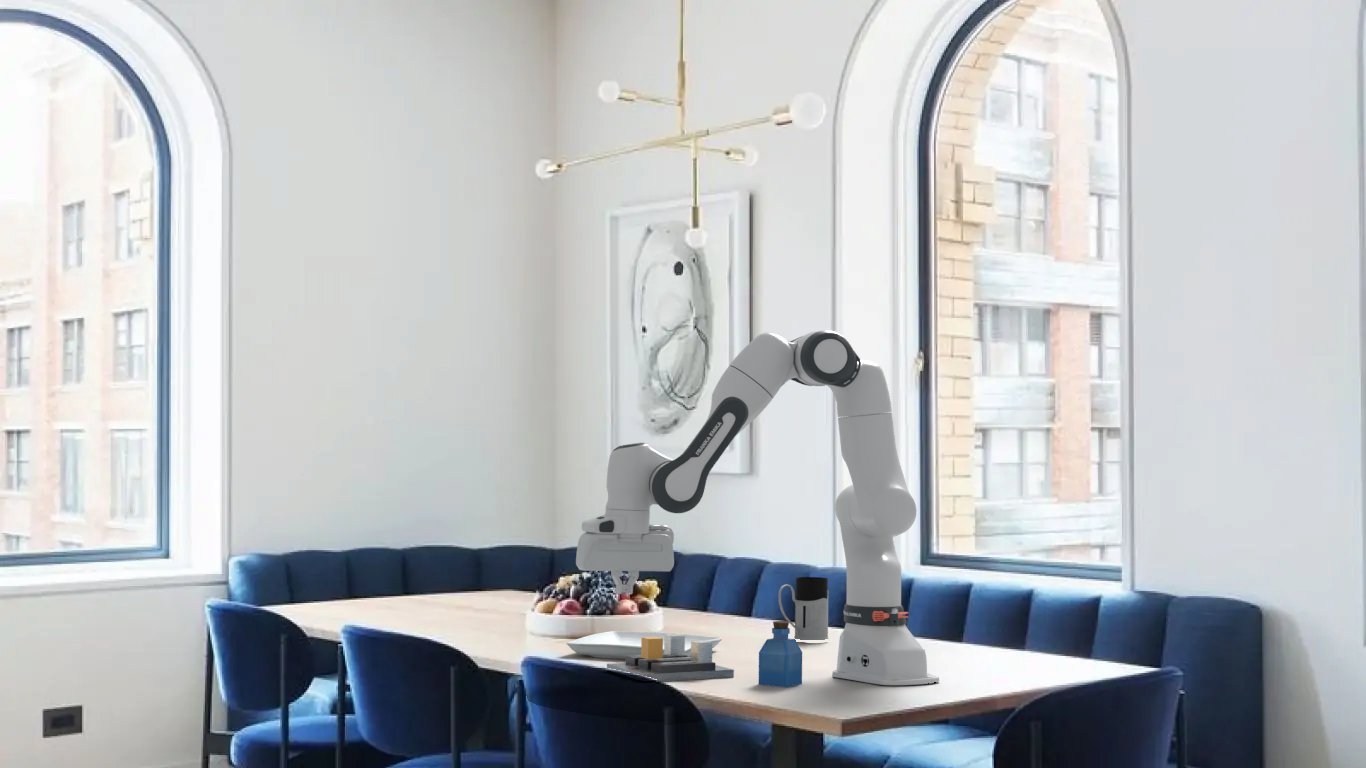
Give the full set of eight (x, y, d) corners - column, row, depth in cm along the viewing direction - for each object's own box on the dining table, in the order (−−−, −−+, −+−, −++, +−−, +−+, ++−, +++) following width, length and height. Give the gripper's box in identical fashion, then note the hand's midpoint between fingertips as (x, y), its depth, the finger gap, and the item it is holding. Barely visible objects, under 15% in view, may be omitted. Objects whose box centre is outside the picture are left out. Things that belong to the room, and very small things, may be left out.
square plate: (563, 659, 361) (564, 641, 361) (612, 645, 386) (612, 629, 387) (682, 666, 351) (682, 647, 352) (723, 652, 377) (723, 635, 377)
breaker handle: (662, 658, 333) (662, 638, 334) (648, 659, 332) (648, 639, 332) (655, 656, 336) (655, 636, 336) (641, 657, 335) (641, 637, 335)
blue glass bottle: (786, 687, 320) (787, 624, 321) (758, 684, 323) (759, 622, 324) (801, 683, 325) (802, 621, 326) (773, 681, 329) (774, 619, 329)
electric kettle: (837, 642, 397) (838, 578, 397) (789, 645, 389) (790, 580, 389) (814, 638, 404) (814, 576, 405) (767, 641, 396) (768, 578, 397)
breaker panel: (733, 677, 333) (734, 641, 333) (643, 682, 324) (643, 645, 324) (694, 666, 348) (695, 632, 348) (606, 671, 339) (607, 636, 339)
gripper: (666, 524, 340) (664, 592, 340) (574, 522, 331) (571, 592, 330) (680, 525, 335) (678, 595, 334) (587, 524, 325) (584, 595, 325)
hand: (624, 594), depth 332 cm, fingers closed
